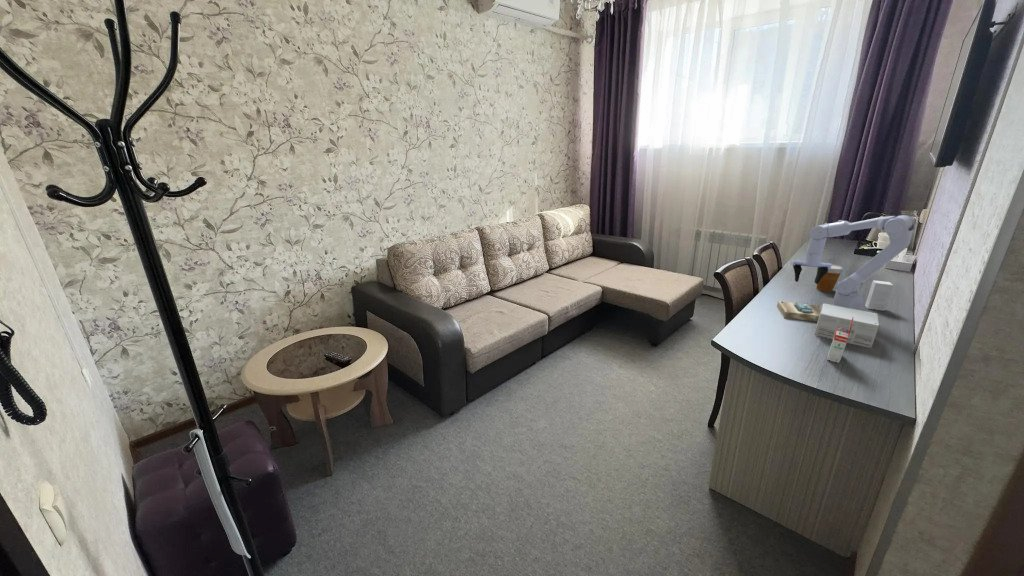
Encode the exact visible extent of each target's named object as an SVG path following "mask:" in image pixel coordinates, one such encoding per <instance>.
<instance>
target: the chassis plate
mask: <svg viewBox="0 0 1024 576" xmlns="http://www.w3.org/2000/svg"><path fill="white" fill-rule="evenodd" d="M795 306H796V302H791V301H790V302H789V301H780V300H778V301H777V304H776V307H777V309H778V311H779V313H780V314H781V315H782V318H785V319H786V318H787V319H792V320H793V319H795V320H803V321H809V322H818V318H819V315H820V312H821V308H822V306H821V305H816V304H809V306H810V307H811V308H812V310H811V313H808V312H799V311H798V310H797V309H796V308H795Z"/></svg>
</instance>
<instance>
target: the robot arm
mask: <svg viewBox="0 0 1024 576" xmlns="http://www.w3.org/2000/svg"><path fill="white" fill-rule="evenodd" d="M874 228H876V229H878V230H880V231H883V230H884V231H885V233H886V234H887V236H888V238H889V239H888V240H889V244H887V246H885V247H884V248H883V249H882V250H881V251H879V252H878V253H877V254H875V256H873V257H872V258H871V259H869V260H868V261H867V262H866V263H865V264H864V265H862V266H861V267H860V268H859V269H858V270H856V271H855V272H853V273H852V274H851V275H849V276H848V277H846V278H844V279H843V280H840V281H837V282H836V284H835V289H836V290H835V294H834V298H833V299H832V304H831V305H835V306H840V307H845V308H850V309H856V310H861V311H863V310H862V309H863V306H864V305H865V304H864V302H865V298H864V296H863V295H862V294H859V292H858V291H859V290H861V289H862V287H863V285H864V283H866V282H867V281H868V280H869V279H870V278H871V277H872V276H873V275H874V274H875V273H877V272H879V270H881V269H882V268H883V267H884V266H885V265H887V264H888V263H889V262H890V261H892V260H893V259H894V258H896V257H897V256H898V255H900V254H901V253H902V252H903V251H904V250H906V249H907V248H908V247H909V246H910V244H911V242H912V241H911V239H912V237H913V234H914V230H915V228H916V227H915V221H914V219H913V218H912V217H911V216H909V215H907V214H901V215H897V216H896V215H890V216H889V215H888V216H881V217H880V216H879V217H875V218H871V219H870V218H869V219H866V220H865V219H864V220H860V221H855V222H849V221H848V220H843V219H839V220H837V221H836V222H832V223H829V222H824V224H820V225H816V226H813V227H812V228H811V229H810V230H809V237H810V238H809V241H808V245H807V248H806V252H805V255H804V258H803V259H804V260H801V259H800V260H798V259H795V260H794V259H791V263H790V265H791V266H792V268H793V271H794V281H795V282H796V283H797V282H799V280H800V275H801V273H802V271H803V268H802V267H812V268H817V270H816V276H815V279H814V283H815V285H817V284H818V283H819V281H820V279H821V278H822V277H823V276H824V275H825V274H826V273H827V272H828V269H831V266H832V263H830V262H821V260H822V257H823V253H824V250H825V246H826V241H827V239H828V238H834V237H840V236H846V235H849V234H850V233H851V232H852V231H859V230H866V229H874Z"/></svg>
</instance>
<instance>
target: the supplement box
mask: <svg viewBox="0 0 1024 576" xmlns="http://www.w3.org/2000/svg"><path fill="white" fill-rule="evenodd" d="M878 317H879V316H878V313H875V312H871V311H865V310H856V309H850V308H845V307H840V306H835V305H832V304H829V303H826V302H825V303H822V308H821V312H820V315H819V318H818V322H817V321H816V322H817V323H816V327H815V331H814V336H817V337H821V336H822V338H825V337H827V338H826V339H829V338H832V339H831V340H833V338H834V335H835V332H836V329H837V327H842V328H846V329H849V328H850V324H851V321H852V318H853V324H852V328H851V331H850V334H849V337H848V340H847V343H846V344H852V345H855V346H860V347H864V348H868V349H872V347H873V345H874V341H875V338H876V336H877V334H878V330H879V326H880V323H879V318H878Z"/></svg>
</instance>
